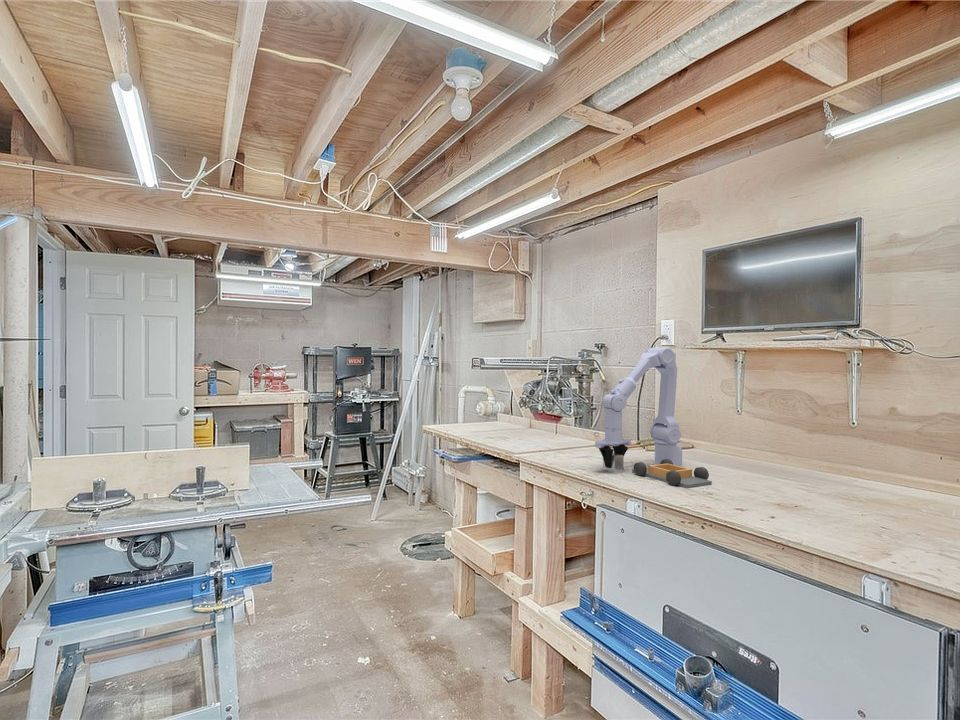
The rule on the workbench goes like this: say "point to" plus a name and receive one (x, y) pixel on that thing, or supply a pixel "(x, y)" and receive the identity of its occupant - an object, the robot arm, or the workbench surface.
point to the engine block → (615, 464)
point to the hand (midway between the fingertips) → (613, 466)
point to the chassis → (673, 474)
